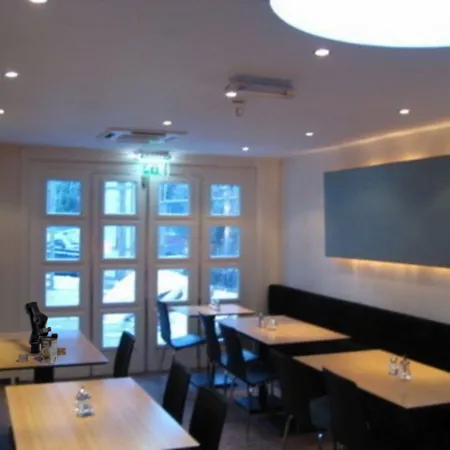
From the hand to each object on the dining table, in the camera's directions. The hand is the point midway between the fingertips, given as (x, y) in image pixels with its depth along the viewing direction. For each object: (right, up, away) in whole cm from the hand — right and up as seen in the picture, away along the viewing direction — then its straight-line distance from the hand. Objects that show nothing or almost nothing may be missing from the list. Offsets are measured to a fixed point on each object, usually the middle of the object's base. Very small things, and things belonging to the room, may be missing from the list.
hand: (46, 348), depth 416 cm
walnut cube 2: (+6, -8, +17) cm, 19 cm away
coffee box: (+4, -9, -6) cm, 11 cm away
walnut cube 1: (-15, -8, -4) cm, 17 cm away
